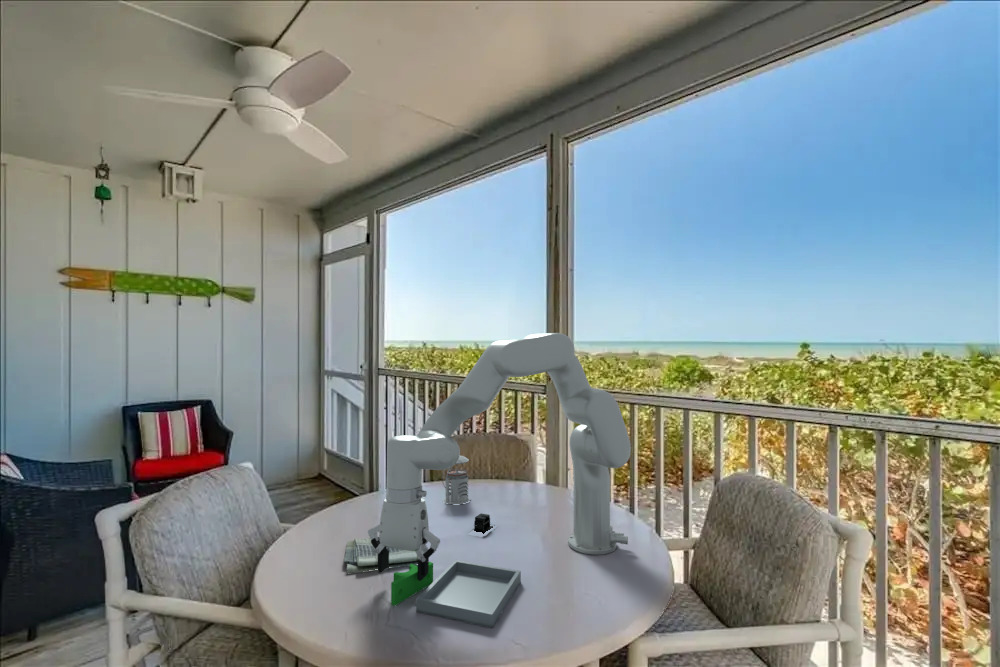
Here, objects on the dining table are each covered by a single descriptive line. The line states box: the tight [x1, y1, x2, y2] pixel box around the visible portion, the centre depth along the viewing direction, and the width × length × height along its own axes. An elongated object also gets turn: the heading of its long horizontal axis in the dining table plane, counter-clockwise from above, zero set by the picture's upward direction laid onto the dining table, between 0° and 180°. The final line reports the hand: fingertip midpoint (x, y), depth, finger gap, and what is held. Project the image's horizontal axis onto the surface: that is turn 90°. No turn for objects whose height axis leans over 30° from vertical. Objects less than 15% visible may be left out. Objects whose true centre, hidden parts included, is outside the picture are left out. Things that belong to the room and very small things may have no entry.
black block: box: [473, 513, 493, 534], centre depth 133 cm, size 12×7×5 cm, turn 154°
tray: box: [415, 559, 522, 629], centre depth 97 cm, size 16×18×2 cm
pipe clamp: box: [390, 561, 434, 607], centre depth 99 cm, size 11×4×5 cm, turn 145°
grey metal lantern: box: [442, 426, 471, 504], centre depth 158 cm, size 10×12×25 cm
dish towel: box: [343, 537, 420, 575], centre depth 117 cm, size 19×18×3 cm
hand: (402, 573), depth 100 cm, fingers open, 9 cm apart
